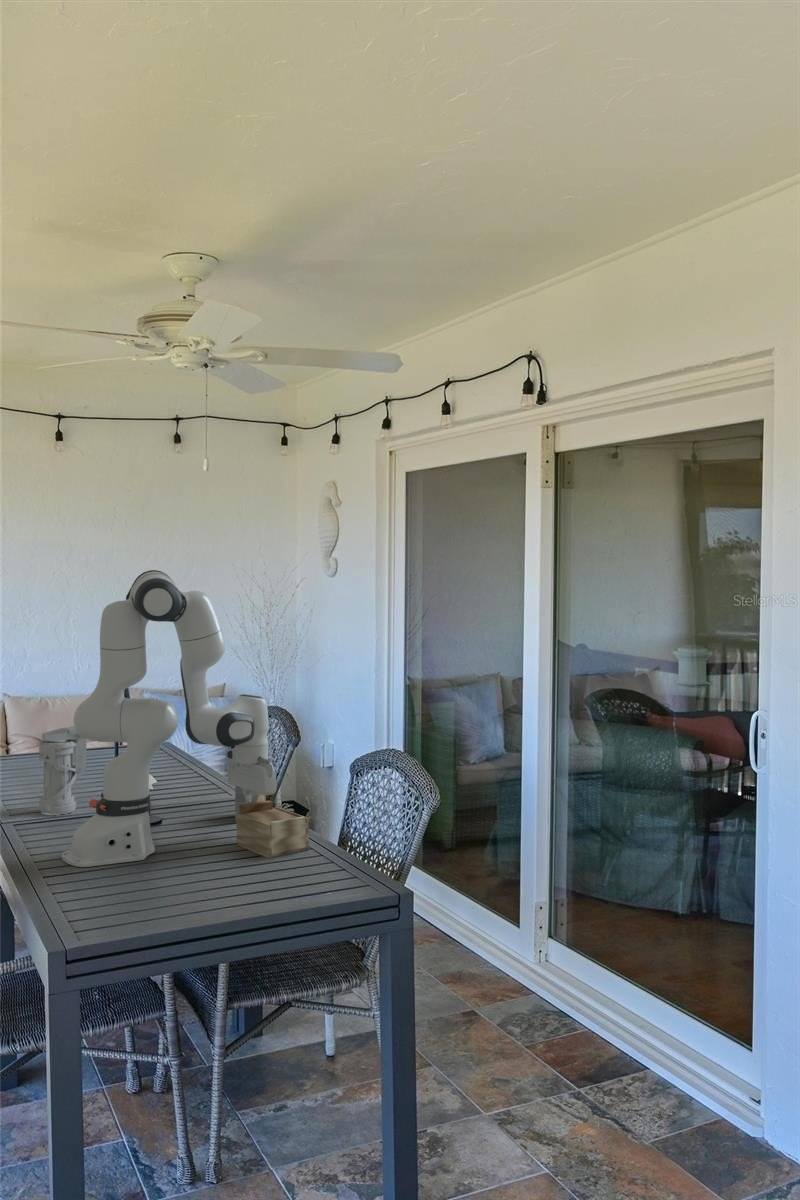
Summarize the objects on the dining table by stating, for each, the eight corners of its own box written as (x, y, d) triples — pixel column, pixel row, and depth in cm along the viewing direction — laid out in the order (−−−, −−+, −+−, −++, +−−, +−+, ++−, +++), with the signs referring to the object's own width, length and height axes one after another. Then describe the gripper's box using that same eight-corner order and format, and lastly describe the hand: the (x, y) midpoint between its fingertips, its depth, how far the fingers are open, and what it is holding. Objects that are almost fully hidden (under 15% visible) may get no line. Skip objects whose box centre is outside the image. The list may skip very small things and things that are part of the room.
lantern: (43, 817, 284) (43, 731, 283) (36, 810, 293) (36, 727, 292) (88, 812, 290) (88, 728, 290) (80, 805, 299) (80, 724, 299)
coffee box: (245, 813, 291) (245, 759, 291) (266, 814, 290) (266, 760, 289) (234, 820, 282) (234, 764, 282) (255, 821, 281) (255, 765, 280)
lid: (269, 828, 244) (269, 817, 244) (236, 815, 257) (236, 805, 257) (304, 822, 251) (304, 811, 251) (271, 810, 264) (271, 800, 264)
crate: (268, 857, 243) (268, 823, 243) (236, 844, 256) (236, 811, 256) (308, 849, 251) (308, 816, 251) (275, 837, 263) (276, 805, 263)
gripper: (282, 759, 255) (282, 811, 255) (243, 748, 271) (243, 798, 271) (261, 761, 251) (261, 815, 251) (222, 750, 267) (222, 801, 267)
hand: (251, 806), depth 261 cm, fingers closed
